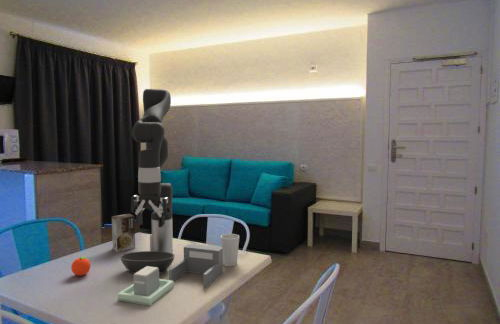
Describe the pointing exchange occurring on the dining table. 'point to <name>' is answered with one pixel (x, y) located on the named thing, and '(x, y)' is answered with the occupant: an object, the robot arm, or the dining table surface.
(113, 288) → the dining table surface
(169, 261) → the bowl
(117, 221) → the coffee box
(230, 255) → the cup
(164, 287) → the tray
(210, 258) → the bay
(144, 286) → the white block
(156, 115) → the robot arm
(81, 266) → the clementine
